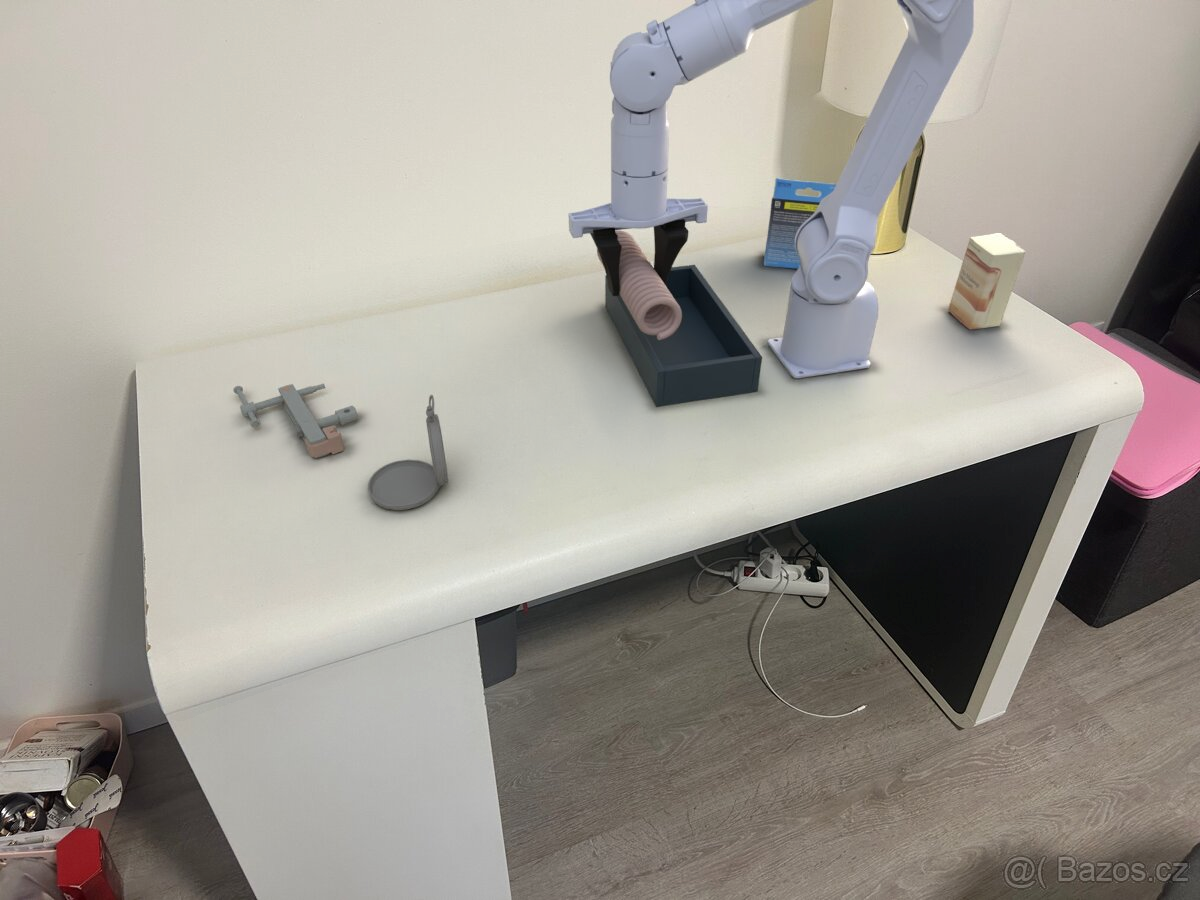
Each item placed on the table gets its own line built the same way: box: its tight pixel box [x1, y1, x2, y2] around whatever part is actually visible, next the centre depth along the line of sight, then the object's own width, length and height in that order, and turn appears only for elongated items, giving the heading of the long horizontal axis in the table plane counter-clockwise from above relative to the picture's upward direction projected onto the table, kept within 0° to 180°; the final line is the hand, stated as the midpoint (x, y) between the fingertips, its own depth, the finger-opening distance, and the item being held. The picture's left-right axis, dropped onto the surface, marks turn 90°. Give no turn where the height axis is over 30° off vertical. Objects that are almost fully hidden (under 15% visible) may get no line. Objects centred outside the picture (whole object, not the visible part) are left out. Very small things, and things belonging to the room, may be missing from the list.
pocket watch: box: [367, 394, 449, 511], centre depth 77 cm, size 8×8×10 cm
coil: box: [596, 230, 682, 340], centre depth 93 cm, size 5×5×18 cm
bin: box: [604, 264, 763, 408], centre depth 98 cm, size 12×22×4 cm, turn 14°
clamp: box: [232, 383, 359, 459], centre depth 88 cm, size 15×2×10 cm
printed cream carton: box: [947, 232, 1027, 331], centre depth 101 cm, size 5×4×10 cm
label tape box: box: [763, 177, 837, 270], centre depth 112 cm, size 9×4×12 cm, turn 77°
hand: (637, 288), depth 93 cm, fingers closed on coil, 4 cm apart
